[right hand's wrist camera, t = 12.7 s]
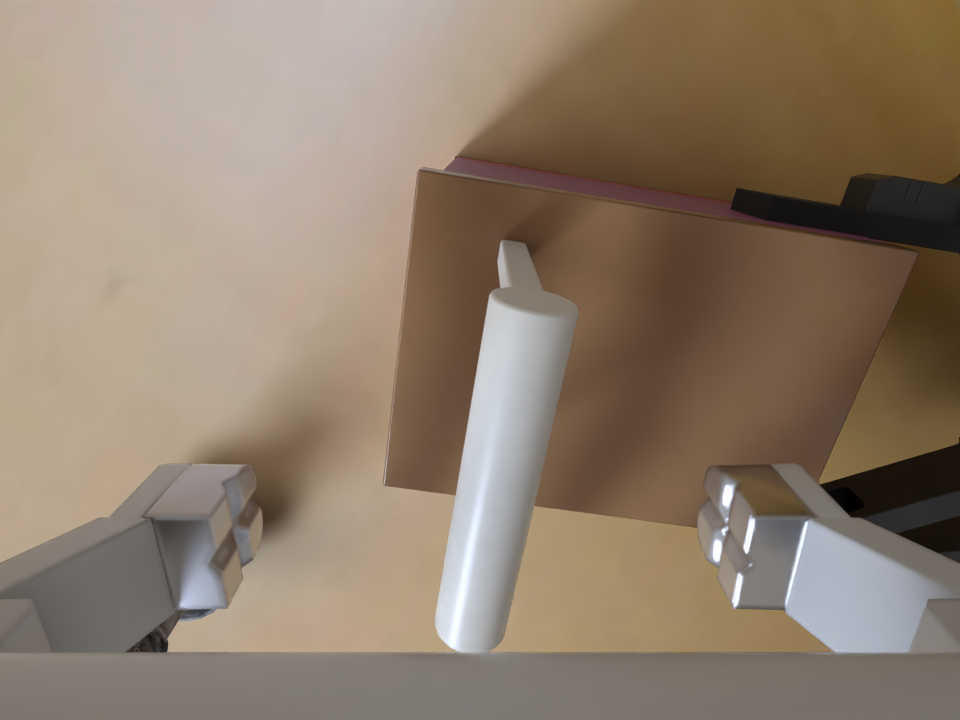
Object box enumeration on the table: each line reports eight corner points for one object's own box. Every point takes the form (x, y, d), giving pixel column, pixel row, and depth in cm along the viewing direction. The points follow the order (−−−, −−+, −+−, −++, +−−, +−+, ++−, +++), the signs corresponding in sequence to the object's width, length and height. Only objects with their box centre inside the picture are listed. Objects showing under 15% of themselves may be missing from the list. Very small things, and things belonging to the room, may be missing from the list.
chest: (428, 364, 28) (404, 469, 20) (456, 156, 25) (442, 169, 16) (687, 402, 29) (776, 520, 20) (750, 205, 26) (893, 244, 17)
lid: (387, 467, 20) (326, 684, 12) (421, 166, 16) (364, 198, 8) (776, 520, 20) (955, 756, 13) (894, 244, 17) (1245, 340, 9)
